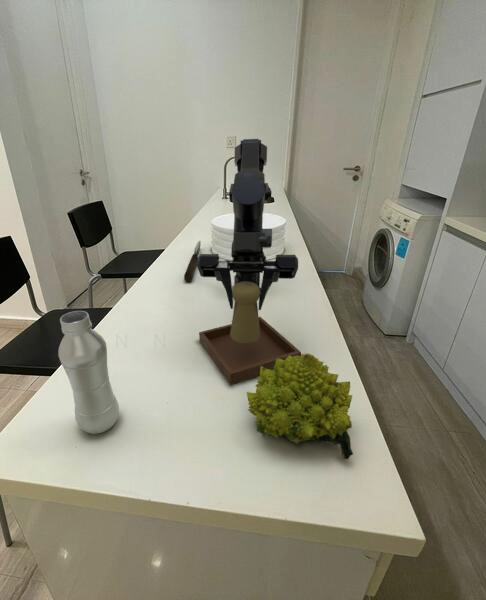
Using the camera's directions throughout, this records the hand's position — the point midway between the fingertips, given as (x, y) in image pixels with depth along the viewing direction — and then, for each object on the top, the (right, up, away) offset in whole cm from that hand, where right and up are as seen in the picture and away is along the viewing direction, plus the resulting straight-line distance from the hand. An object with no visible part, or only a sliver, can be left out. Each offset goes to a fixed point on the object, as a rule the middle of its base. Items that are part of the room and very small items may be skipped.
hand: (245, 308), depth 61 cm
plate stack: (+9, +22, +69) cm, 73 cm away
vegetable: (+7, -18, -9) cm, 21 cm away
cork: (0, -5, +4) cm, 7 cm away
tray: (+1, -9, +9) cm, 13 cm away
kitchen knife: (-10, +17, +56) cm, 60 cm away
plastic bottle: (-25, -19, -7) cm, 32 cm away
